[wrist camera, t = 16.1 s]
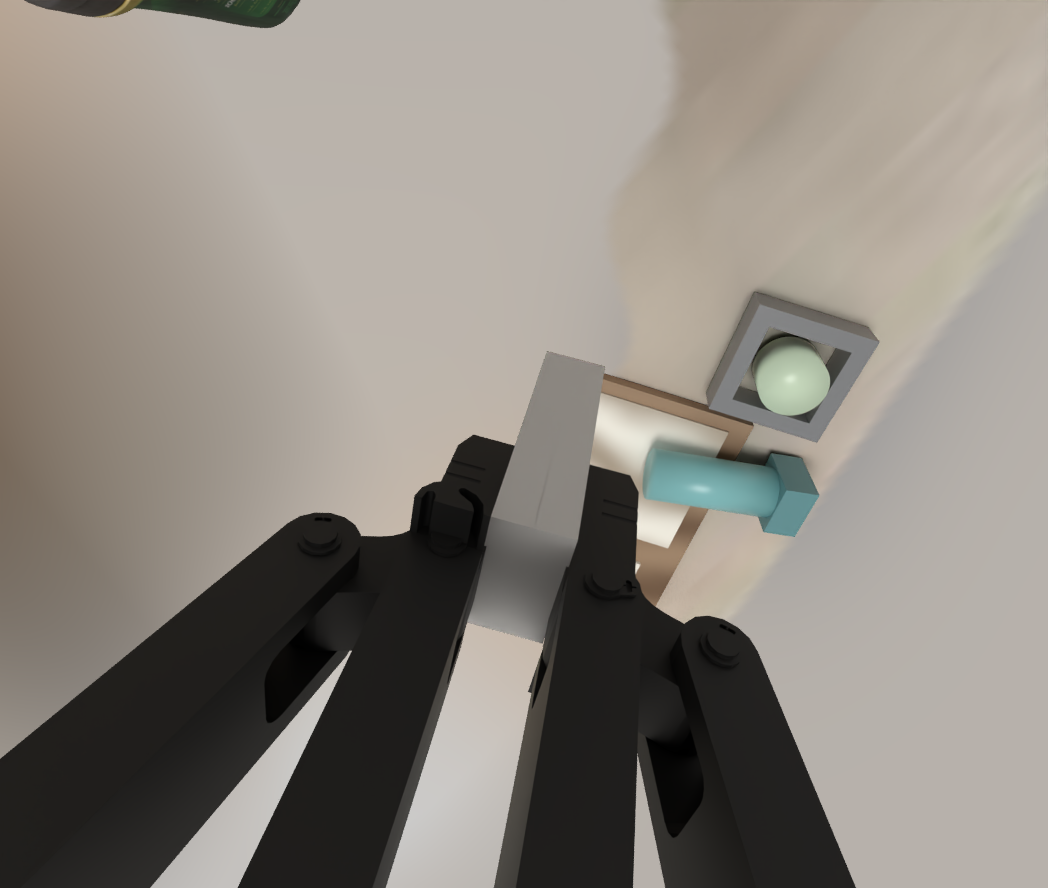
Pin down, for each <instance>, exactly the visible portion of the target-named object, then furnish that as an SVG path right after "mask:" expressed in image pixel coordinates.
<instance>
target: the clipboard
mask: <svg viewBox="0 0 1048 888" xmlns="http://www.w3.org/2000/svg"><path fill="white" fill-rule="evenodd" d="M753 427H754V426H753V422H750V421H747V420H743V419H740V418H737V417H734V416H731V415H728V414H724V413H721V412H718V411H715V410H712V409H709V407H708V406H706V405H703V404H700V403H697V402H694V401H690V400H687V399H684V398H681V397H678V396H674V395H671V394H668V393H665V392H662V391H658V390H655V389H652V388H649V387H646V386H643V385H639V384H636V383H633V382H630V381H627V380H623V379H620V378H617V377H614V376H611V375H607V374H604V376H603V383H602V389H601V395H600V402H599V408H598V415H597V421H596V427H595V434H594V440H593V446H592V453H591V459H590V465H594V466H597V467H601V468H605V469H609V470H612V471H616V472H620V473H623V474H627V475H630V476H631V478H632V480H633V482H634V484H635V486H636V488H637V490H638V492H639V499H638V511H637V512H638V522H637V545H636V568H635V574H636V579H637V580H638V582H639V583H640V586H641V590H642V593H643V594H644V596H645V597H646V599H647V600H649V601H650V602H651V603H652V604H653V605H654V606H656V604H657V602H658V600H659V599H660V597H661V595H662V593H663V591H664V589H665V588H666V586H667V584H668V582H669V580H670V579H671V577H672V575H673V573H674V571H675V569H676V568H677V566H678V564H679V562H680V560H681V558H682V557H683V555H684V553H685V551H686V549H687V547H688V546H689V544H690V542H691V540H692V538H693V536H694V535H695V533H696V531H697V529H698V527H699V526H700V524H701V522H702V520H703V518H704V516H705V515H706V513H707V511H708V509H706V508H699V507H693V506H687V505H680V504H674V503H667V502H661V501H655V500H648V499H645V498H644V495H643V487H642V484H643V473H644V468H645V463H646V460H647V457H648V455H649V453H650V451H651V450H652V449H653V448H656V449H662V450H668V451H674V452H681V453H687V454H693V455H699V456H705V457H712V458H718V459H724V460H730V461H735V460H736V458H737V456H738V454H739V452H740V451H741V449H742V447H743V445H744V443H745V441H746V440H747V438H748V436H749V434H750V432H751V431H752V429H753Z"/></svg>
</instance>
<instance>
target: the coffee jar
mask: <svg viewBox="0 0 1048 888" xmlns="http://www.w3.org/2000/svg"><path fill="white" fill-rule="evenodd" d="M25 1H27V2H28V3H31V4H34V5H36V6H39V7H42V8H46V9H50V10H56V11H62V12H66V13H72V14H77V15H82V16H89V17H111V16H117V15H120V14H123V13H126V12H128V11H130V10H132V9H133V8H139V9H148V10H155V11H162V12H169V13H176V14H183V15H189V16H195V17H201V18H207V19H212V20H217V21H222V22H227V23H232V24H238V25H243V26H250V27H260V28H271V27H274V26H277V25H279V24H281V23H282V22H284V21H285V20H286V19H287V18H288V17H289V16H290V15H291V14H292V12H293V11H294V9H295V8H296V7H297V5H298V4H299V2H300V0H25Z"/></svg>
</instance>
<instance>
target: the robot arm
mask: <svg viewBox="0 0 1048 888" xmlns="http://www.w3.org/2000/svg"><path fill="white" fill-rule="evenodd" d="M604 370H605V366H602V365H598V364H594V363H590V362H586V361H583V360H579V359H575V358H571V357H568V356H564V355H559V354H556V353H552V352H549V351H547V353H546V356H545V359H544V362H543V365H542V368H541V370H540V373H539V376H538V379H537V382H536V385H535V388H534V391H533V394H532V397H531V400H530V403H529V406H528V409H527V412H526V415H525V418H524V421H523V423H522V426H521V430H520V433H519V435H518V439H517V442H516V444H515V446H513V445H510V444H506V443H502V442H499V441H495V440H491V439H488V438H484V437H480V436H477V435H472V436H471V437H469V438H468V439H467V440H465V441H464V442H462V443H461V444H459V445H458V447H457V449H456V451H455V453H454V455H453V458H452V460H451V462H450V464H449V466H448V468H447V470H446V473H445V475H444V477H443V479H442V481H441V482H433V483H431V484H429V485H427V486H424V487H422V488H421V489H420V490H419V491H418V493H417V494H416V495H415V497H414V504H413V512H412V519H411V526H410V530H409V531H407V532H405V533H403V534H398V535H394V536H383V537H376V536H375V537H374V536H361V534H360V533H359V531H358V529H357V527H356V526H355V525H354V524H353V523H352V522H350V521H349V520H348V519H346V518H345V517H342V516H338V515H335V514H332V513H312V514H308V515H303V516H300V517H298V518H296V519H294V520H293V521H291V522H289V523H288V524H286V525H285V526H284V527H283V528H281V529H280V530H279V531H278V532H277V533H275V534H274V535H273V536H272V537H271V538H269V539H268V540H267V541H266V542H264V543H263V544H262V545H261V546H259V548H257V549H256V550H255V551H253V552H252V553H251V554H250V555H248V556H247V557H246V558H245V559H244V560H242V561H241V562H240V563H239V564H237V565H236V566H235V567H234V568H233V569H231V570H230V571H229V572H228V573H227V574H225V575H224V576H223V577H222V578H220V580H218V581H217V582H216V583H214V584H213V585H212V586H211V587H210V588H208V589H207V590H206V591H205V592H203V593H202V594H201V595H200V596H198V597H197V598H196V599H195V600H194V601H192V602H191V603H190V604H189V605H187V606H186V607H185V608H184V609H183V610H181V611H180V612H179V613H178V614H176V615H175V616H174V617H173V618H172V619H170V620H169V621H168V622H167V623H165V624H164V625H163V626H162V627H161V628H159V630H157V631H156V632H155V633H153V634H152V635H151V636H150V637H148V638H147V639H146V640H145V641H144V642H142V643H141V644H140V645H139V646H137V647H136V648H135V649H134V650H133V651H131V652H130V653H129V654H128V655H126V656H125V657H124V658H123V659H122V660H121V661H119V662H118V663H117V664H115V665H114V666H113V667H112V668H111V669H109V670H108V671H107V672H106V673H104V674H103V675H102V676H101V677H100V678H99V679H97V680H96V681H95V682H94V683H92V684H91V685H90V686H89V687H88V688H86V689H85V690H84V691H83V692H81V693H80V694H79V695H78V696H76V697H75V698H74V699H73V700H71V701H70V702H69V703H68V704H67V705H65V706H64V707H63V708H62V709H61V710H59V711H58V712H57V713H56V714H55V715H53V716H52V717H51V718H50V719H48V720H47V721H46V722H45V723H43V724H42V725H41V726H40V727H39V728H37V729H36V730H35V731H34V732H32V733H31V734H30V735H29V736H28V737H26V738H25V739H24V740H23V741H21V742H20V743H19V744H18V745H17V746H15V747H14V748H13V749H12V750H10V751H9V752H8V753H7V754H6V755H4V756H3V757H2V758H1V759H0V888H150V887H151V886H152V885H153V884H154V882H155V881H156V880H157V879H158V878H159V877H160V875H161V874H162V873H163V872H164V871H165V870H166V868H167V867H168V866H169V865H170V864H171V862H172V861H173V860H174V859H175V858H176V856H177V855H178V854H179V853H180V852H181V851H182V849H183V848H184V847H185V846H186V845H187V844H188V842H189V841H190V840H191V839H192V838H193V836H194V835H195V834H196V833H197V832H198V831H199V829H200V828H201V827H202V826H203V825H204V823H205V822H206V821H207V820H208V819H209V818H210V816H211V815H212V814H213V813H214V812H215V810H216V809H217V808H218V807H219V806H220V805H221V803H222V802H223V801H224V800H225V799H226V797H227V796H228V795H229V794H230V793H231V792H232V790H233V789H234V788H235V787H236V786H237V784H238V783H239V782H240V781H241V780H242V779H243V777H244V776H245V775H246V774H247V773H248V771H249V770H250V769H251V768H252V767H253V765H254V764H255V763H256V762H257V761H258V760H259V758H260V757H261V756H262V755H263V754H264V753H265V751H266V750H267V749H268V748H269V747H270V745H271V744H272V743H273V742H274V741H275V739H276V738H277V737H278V736H279V735H280V734H281V732H282V731H283V730H284V729H285V728H286V727H287V725H288V724H289V723H290V722H291V721H292V720H293V718H294V717H295V716H296V715H297V714H298V712H299V711H300V710H301V709H302V707H304V705H305V704H306V703H307V702H308V700H309V699H310V698H311V697H312V696H313V695H314V694H315V692H316V691H317V690H318V689H319V688H320V686H321V685H322V684H323V683H324V682H325V680H326V679H327V678H328V677H329V676H330V675H331V673H332V672H333V671H334V670H335V669H336V667H337V666H338V665H339V664H340V663H341V662H342V660H343V659H344V658H345V657H346V656H347V654H348V652H349V651H352V652H351V654H350V656H349V658H348V660H347V663H346V664H345V667H344V669H343V671H342V673H341V675H340V677H339V679H338V681H337V683H336V685H335V687H334V689H333V691H332V693H331V696H330V698H329V700H328V702H327V704H326V706H325V708H324V710H323V712H322V714H321V716H320V718H319V721H318V722H317V725H316V727H315V729H314V731H313V733H312V735H311V737H310V739H309V741H308V743H307V745H306V748H305V749H304V751H303V754H302V756H301V758H300V760H299V762H298V764H297V766H296V768H295V770H294V772H293V774H292V776H291V779H290V781H289V783H288V785H287V787H286V789H285V791H284V793H283V795H282V797H281V799H280V801H279V803H278V805H277V807H276V809H275V811H274V813H273V816H272V818H271V820H270V822H269V824H268V826H267V828H266V830H265V832H264V834H263V836H262V838H261V840H260V842H259V845H258V847H257V849H256V851H255V853H254V855H253V857H252V859H251V861H250V863H249V865H248V867H247V869H246V871H245V873H244V876H243V878H242V880H241V882H240V884H239V886H238V888H386V885H387V881H388V878H389V875H390V872H391V869H392V865H393V862H394V859H395V855H396V853H397V849H398V846H399V843H400V840H401V837H402V834H403V830H404V827H405V824H406V821H407V817H408V814H409V811H410V808H411V805H412V802H413V798H414V795H415V791H416V789H417V786H418V782H419V779H420V776H421V773H422V769H423V766H424V763H425V760H426V757H427V754H428V750H429V747H430V744H431V741H432V737H433V734H434V731H435V728H436V725H437V721H438V718H439V715H440V712H441V709H442V706H443V702H444V699H445V696H446V693H447V690H448V687H449V683H450V680H451V676H452V674H453V671H454V667H455V664H456V661H457V658H458V654H459V651H460V648H461V644H462V640H463V636H464V631H465V628H466V624H467V622H468V623H471V624H475V625H478V626H482V627H485V628H489V629H493V630H496V631H500V632H503V633H507V634H511V635H514V636H518V637H521V638H525V639H529V640H532V641H535V642H539V643H543V641H544V645H543V650H542V653H541V656H540V659H539V662H538V665H537V667H536V670H535V673H534V677H533V679H532V682H531V685H530V688H529V691H528V692H530V693H532V694H531V699H530V704H529V709H528V714H527V719H526V725H525V730H524V735H523V741H522V745H521V750H520V756H519V761H518V766H517V771H516V776H515V781H514V787H513V792H512V797H511V803H510V807H509V813H508V818H507V823H506V828H505V833H504V839H503V844H502V849H501V854H500V859H499V865H498V870H497V875H496V880H495V885H494V888H633V868H634V837H635V808H636V777H637V776H636V775H637V753H638V757H639V763H640V767H641V772H642V776H643V782H644V786H645V792H646V796H647V801H648V806H649V811H650V816H651V821H652V825H653V830H654V835H655V840H656V844H657V849H658V854H659V859H660V863H661V869H662V874H663V878H664V883H665V888H856V887H855V884H854V882H853V880H852V877H851V875H850V872H849V870H848V868H847V865H846V863H845V860H844V858H843V856H842V854H841V851H840V848H839V846H838V843H837V841H836V839H835V837H834V834H833V831H832V829H831V827H830V824H829V822H828V820H827V817H826V815H825V812H824V810H823V807H822V805H821V803H820V800H819V798H818V795H817V793H816V791H815V788H814V786H813V783H812V781H811V779H810V776H809V774H808V771H807V769H806V767H805V764H804V762H803V759H802V757H801V755H800V752H799V750H798V747H797V745H796V742H795V740H794V738H793V735H792V733H791V730H790V728H789V726H788V723H787V721H786V719H785V716H784V714H783V711H782V709H781V707H780V704H779V702H778V699H777V697H776V694H775V692H774V690H773V687H772V685H771V682H770V680H769V678H768V675H767V673H766V670H765V668H764V666H763V663H762V661H761V658H760V656H759V654H758V651H757V650H756V648H755V646H754V645H753V643H752V642H751V640H750V638H749V637H747V636H746V635H745V634H744V633H743V632H742V631H741V630H740V629H739V628H738V627H736V626H734V625H732V624H731V623H729V622H727V621H725V620H723V619H720V618H715V617H711V616H700V617H694V618H693V619H691V620H689V621H688V622H686V623H685V624H683V623H682V622H680V621H678V620H676V619H674V618H673V617H671V616H669V615H667V614H665V613H664V612H662V611H661V610H659V609H658V608H656V607H655V606H654V605H653V604H652V603H651V602H650V601H649V600H647V599H646V597H645V596H644V594H643V593H642V590H641V586H640V583H639V582H638V580H637V579H636V574H635V568H636V545H637V522H638V512H637V511H638V499H639V492H638V490H637V488H636V486H635V484H634V482H633V480H632V478H631V476H630V475H627V474H623V473H620V472H616V471H612V470H609V469H605V468H601V467H597V466H594V465H590V459H591V453H592V446H593V440H594V434H595V427H596V421H597V415H598V408H599V402H600V395H601V389H602V383H603V376H604ZM544 638H545V640H544Z"/></svg>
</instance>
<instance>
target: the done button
mask: <svg viewBox="0 0 1048 888" xmlns="http://www.w3.org/2000/svg"><path fill="white" fill-rule="evenodd" d="M752 373H753V378H754V381H755V384H756V387H757V390H758V394H759V397H760V399H761V401H762V403H763V404H764V405H765V406H766V407H767V408H768V409H769V410H771V411H773V412H775V413H777V414H781V415H799V414H802V413H805V412H808V411H810V410H812V409H813V408H815V407H816V406H818V405H819V404H820V403H821V402H822V401H823V399H824V398H825V397H826V395H827V393H828V390H829V387H830V376H829V373H828V371H827V369H826V367H825V365H824V363H823V361H822V359H821V357H820V356H819V354H818V352H817V350H816V349H815V347H814V346H813V345H812V344H811V343H809V342H808V341H806V340H804V339H801V338H798V337H783V338H779V339H776V340H773V341H771V342H769V343H768V344H766V345H765V346H764V347H763V348H762V349H761V350H760V351H759V352H758V353H757V355H756V357H755V359H754V361H753V366H752Z"/></svg>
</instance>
